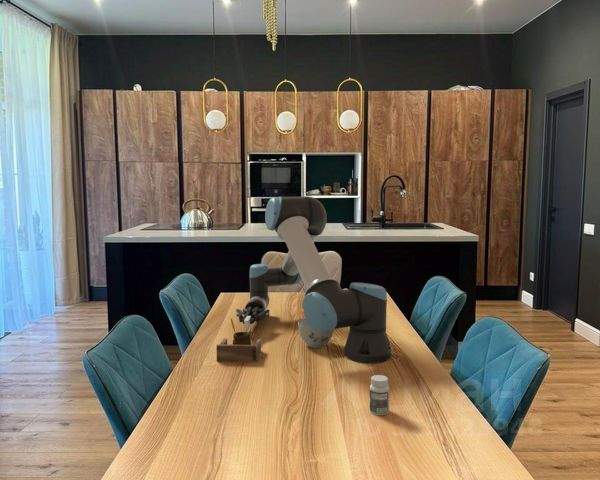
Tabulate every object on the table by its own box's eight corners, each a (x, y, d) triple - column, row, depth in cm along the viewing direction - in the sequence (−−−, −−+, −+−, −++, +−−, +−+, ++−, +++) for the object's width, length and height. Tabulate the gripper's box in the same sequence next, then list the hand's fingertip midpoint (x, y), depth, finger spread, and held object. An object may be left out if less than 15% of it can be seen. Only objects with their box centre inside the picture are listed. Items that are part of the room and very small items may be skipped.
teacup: (333, 352, 167) (333, 328, 166) (295, 350, 169) (295, 327, 168) (335, 338, 182) (335, 316, 181) (301, 337, 184) (301, 315, 183)
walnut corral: (223, 350, 169) (223, 335, 169) (260, 350, 169) (260, 336, 168) (216, 361, 159) (216, 345, 158) (256, 361, 158) (256, 346, 158)
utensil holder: (250, 358, 162) (249, 321, 160) (230, 358, 162) (229, 321, 160) (252, 352, 167) (251, 316, 166) (232, 352, 167) (232, 316, 166)
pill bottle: (375, 405, 127) (376, 372, 126) (392, 410, 124) (393, 377, 123) (365, 412, 123) (366, 378, 122) (382, 417, 120) (383, 383, 119)
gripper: (272, 317, 200) (264, 335, 177) (239, 317, 201) (227, 334, 178) (272, 298, 199) (264, 314, 176) (239, 298, 200) (227, 313, 177)
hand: (246, 324), depth 177 cm, fingers closed
